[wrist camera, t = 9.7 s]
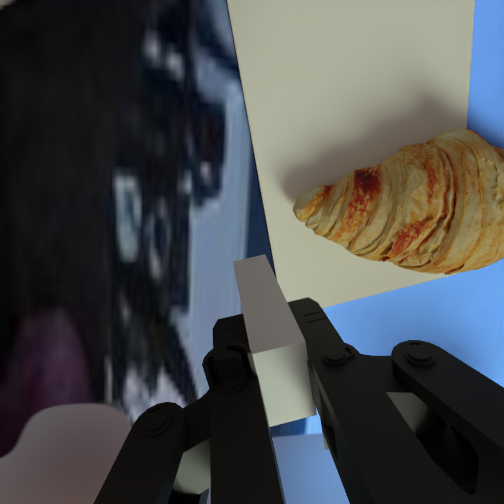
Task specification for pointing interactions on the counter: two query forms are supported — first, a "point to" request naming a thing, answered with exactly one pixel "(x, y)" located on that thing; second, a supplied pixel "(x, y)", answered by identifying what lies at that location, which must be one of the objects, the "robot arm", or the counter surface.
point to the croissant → (418, 206)
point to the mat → (343, 114)
